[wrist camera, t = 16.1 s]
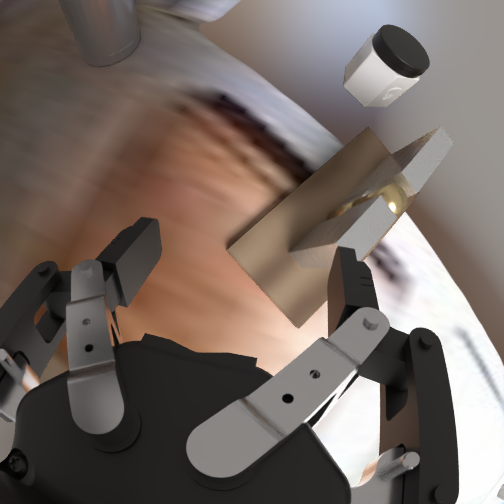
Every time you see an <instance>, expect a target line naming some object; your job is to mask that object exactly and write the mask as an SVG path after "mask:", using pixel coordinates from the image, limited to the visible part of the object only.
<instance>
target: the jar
mask: <svg viewBox="0 0 504 504" xmlns="http://www.w3.org/2000/svg"><path fill="white" fill-rule="evenodd" d="M429 64H430V62H429V57H428V55H427V53H426V51H425V49H424V48H423V47H422V45H421V44H420V43H419V42H418V41H417V40H416V39H415V38H414V37H413V36H412V35H411V34H409V33H408V32H406V31H405V30H403V29H401V28H399V27H397V26H394V25H383V26H382V27H381V28H380V29H379V30H378V32H377V33H376V34H372V35H371V36H370V37H369V38H368V40H367V41H366V42H365V43H364V45H363V46H362V47H361V48H360V50H359V51H358V52H357V53H356V55H355V56H354V57H353V59H352V60H351V61H350V63H349V64H348V65H347V66H346V68H345V76H344V83H343V87H344V88H345V89H346V90H347V91H348V92H349V93H350V94H352V96H354V97H355V98H356V99H357V100H358V101H359V102H360V103H361V105H362V106H364V107H387V106H388V105H389V104H390V103H392V102H393V101H394V100H395V99H397V98H398V97H399V96H400V95H401V94H403V93H404V92H405V91H406V90H408V89H409V88H410V87H411V86H412V85H414V84H415V83H416V82H417V81H418V80H419V76H420V75H422V74H423V73H424V72H425V71H426V69H428V67H429Z"/></svg>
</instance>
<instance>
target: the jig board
mask: <svg viewBox="0 0 504 504" xmlns="http://www.w3.org/2000/svg"><path fill="white" fill-rule="evenodd" d="M390 155H391V154H390V152H389V151H388V150H387V149H386V147H385V146H384V145H383V144H382V142H381V141H380V140H379V139H378V138H377V137H376V135H375V134H374V133H373V132H372V131H371V129H370V128H369V127H367V128H366V129H365V130H364V131H363V132H361V133H360V134H359V135H358V136H357V137H355V138H354V139H353V140H352V141H351V142H350V143H348V144H347V145H346V146H345V147H344V148H343V149H341V150H340V151H339V152H338V153H337V154H336V155H334V156H333V157H332V158H331V159H330V160H329V161H327V162H326V163H325V164H324V165H323V166H322V167H320V168H319V169H318V170H317V171H316V172H315V173H314V174H312V175H311V176H310V177H309V178H308V179H307V180H306V181H304V182H303V183H302V184H301V185H300V186H299V187H297V188H296V189H295V190H294V191H293V192H292V193H291V194H289V195H288V196H287V197H286V198H285V199H284V200H283V201H282V202H280V203H279V204H278V205H277V206H276V207H275V208H274V209H272V210H271V211H270V212H269V213H268V214H267V215H266V216H265V217H263V218H262V219H261V220H260V221H259V222H258V223H257V224H256V225H254V226H253V227H252V228H251V229H250V230H249V231H248V232H247V233H245V234H244V235H243V236H242V237H241V238H240V239H239V240H238V241H236V242H235V243H234V244H233V245H232V246H231V247H230V248H229V249H228V250H226V251H227V252H228V253H229V254H230V255H231V256H232V258H233V259H234V260H235V261H236V262H237V263H238V264H239V265H240V266H241V268H242V269H243V270H244V271H245V272H246V273H247V274H248V275H249V276H250V278H251V279H252V280H253V281H254V282H255V283H256V284H257V285H258V286H259V287H260V289H261V290H262V291H263V292H264V293H265V294H266V295H267V296H268V297H269V298H270V300H271V301H272V302H273V303H274V304H275V305H276V306H277V307H278V308H279V309H280V310H281V312H282V313H283V314H284V315H285V316H286V317H287V318H288V319H289V320H290V321H291V322H292V324H293V325H294V326H295V327H297V328H300V327H301V326H302V325H303V324H304V323H305V322H306V321H307V320H308V319H309V318H310V317H311V316H312V315H313V314H314V313H315V312H316V311H317V310H318V309H319V308H320V307H321V306H322V305H323V304H324V303H325V302H326V301H327V299H328V297H327V284H328V277H329V273H330V270H331V268H312V269H302V268H301V267H300V266H299V265H298V264H297V262H296V261H295V260H294V259H293V258H292V257H291V255H290V254H289V252H290V251H291V250H292V249H293V248H294V247H295V246H296V245H297V244H298V243H299V242H300V241H301V240H302V239H303V238H304V237H306V236H307V235H308V234H309V233H310V232H311V231H312V230H313V229H314V228H315V227H316V226H317V225H318V224H319V223H322V222H324V221H327V215H328V213H329V212H331V211H332V210H335V209H337V208H338V207H339V206H340V205H341V204H342V203H343V200H344V199H345V198H346V197H347V196H348V195H349V194H350V193H351V192H352V191H353V190H354V189H355V188H356V187H357V186H358V185H359V184H360V183H361V182H362V181H363V180H364V179H365V178H366V177H367V176H368V175H369V174H370V173H371V172H372V171H373V170H374V169H375V168H376V167H377V166H378V165H379V164H380V163H381V162H382V161H383V160H384V159H385V158H386V157H388V156H390ZM418 194H419V192H418V193H417V194H415V195H412V196H409V197H407V207H406V209H407V208H408V207H409V205H410V204H411V203H412V202H413V200H414V199H415V198H416V196H417V195H418ZM406 209H405V210H406ZM405 210H404V211H403V212H402V213H399V214H395V215H396V217H397V219H396V220H395V221H394V222H393V224H392V225H391V226H390V227H389V228H388V230H387V231H386V232H385V233H384V234H383V235H382V237H381V238H380V239H379V240H378V241H377V242H376V244H375V245H374V246H373V247H372V248H371V249H370V251H369V252H368V253H367V254H366V255H365V256H364V257H363V258H362V260H361V262H362V261H363V260H364V259H365V258H366V257H367V256H368V255H369V254H370V252H371V251H372V250H373V249H374V248H375V247H376V245H377V244H378V243H379V242H380V241H381V240H382V238H383V237H384V236H385V235H386V234H387V232H388V231H389V230H390V229H391V228H392V226H393V225H394V224H395V223H396V222H397V220H398V219H399V218H400V217H401V215H402V214H403V213H404V212H405Z"/></svg>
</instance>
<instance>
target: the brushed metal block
mask: <svg viewBox="0 0 504 504" xmlns="http://www.w3.org/2000/svg"><path fill="white" fill-rule="evenodd" d="M406 207H407V196H406V193H405V191H404V190H403V188H402V187H401V186H399V185H398V184H394V183H392V184H389V185H387V186H385V187H383V188H380V189H378V190H376V191H374V192H371V193H369V194H367V195H365V196H363V197H360V198H358V199H356V200H355V201H354V202H353V203H352V205H351V208H349V209H347V210H346V211H345V212H344V213H343V214H342V215H340V216H337V217H335V218H332V219H330V220H327V221H324V222H322V223H319V224H318V225H317V226H316V227H315V228H314V229H313V230H312V231H311V232H310V233H309V234H308V235H307V236H306V237H304V238H303V239H302V240H301V241H300V242H299V243H298V244H297V245H296V246H295V247H294V248H293V249H292V250H291V251H290V252H289V254H290V255H291V257H292V258H293V259H294V260H295V261H296V262H297V264H298V265H299V266H300V267H301V268H302V269H312V268H331V266H332V263H333V259H334V255H335V252H336V248H337V246H341V247H347V248H353V249H355V252H356V257H357V261H361V260H362V258H363V257H364V256H365V255H366V254H367V253H368V252H369V251H370V249H371V248H372V247H373V246H374V245H375V244H376V242H377V241H378V240H379V239H380V238H381V237H382V235H383V234H384V233H385V232H386V231H387V230H388V228H389V227H390V226H391V225H392V224H393V222H394V221H395V220H396V219H397V217H396V215H395V214H399V213H402V212H403V211H404V210H405V209H406Z"/></svg>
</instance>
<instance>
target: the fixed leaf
mask: <svg viewBox="0 0 504 504" xmlns="http://www.w3.org/2000/svg"><path fill="white" fill-rule="evenodd" d="M452 145H453V142H452V140H451V139H450V137H449V136H448V134H447V133H446V132H445V130H444V129H443V128H442V126H439V127H438V128H436V129H434V130H432V131H431V132H429V133H427V134H426V135H424V136H422V137H421V138H419V139H417V140H415V141H414V142H412V143H410V144H409V145H407V146H405V147H403V148H402V149H400V150H398V151H397V152H395V153H393V154H392V155H390V156H388V157H386V158H385V159H384V160H383V161H382V162H381V163H380V164H379V165H378V166H377V167H376V168H375V169H374V170H373V171H372V172H371V173H370V174H369V175H368V176H367V177H366V178H365V179H364V180H363V181H362V182H361V183H360V184H359V185H358V186H357V187H356V188H355V189H354V190H353V191H352V192H351V193H350V194H349V195H348V196H347V197H346V198H345V199H344V200H343V203H342V204H341V205H340V206H339V207H338V208H337V209H335V210H332V211H331V212H329V213H328V215H327V220H330V219H332V218H335V217H337V216H340V215H342V214H343V213H344V212H345V211H346V210H347V209H349V208H351V205H352V203H353V202H354V201H355V200H356V199H358V198H360V197H363V196H365V195H367V194H369V193H371V192H374V191H376V190H378V189H380V188H383V187H385V186H387V185H389V184H392V183H394V184H398V185H399V186H401V187H402V188H403V190H404V191H405V193H406V196H407V197H409V196H412V195H415V194H417V193H418V191H419V190H420V189H421V187H422V186H423V185H424V184H425V182H426V181H427V180H428V178H429V177H430V176H431V174H432V173H433V171H434V170H435V169H436V167H437V166H438V165H439V163H440V162H441V161H442V159H443V158H444V156H445V155H446V154H447V152H448V151H449V149H450V148H451V146H452Z"/></svg>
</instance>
